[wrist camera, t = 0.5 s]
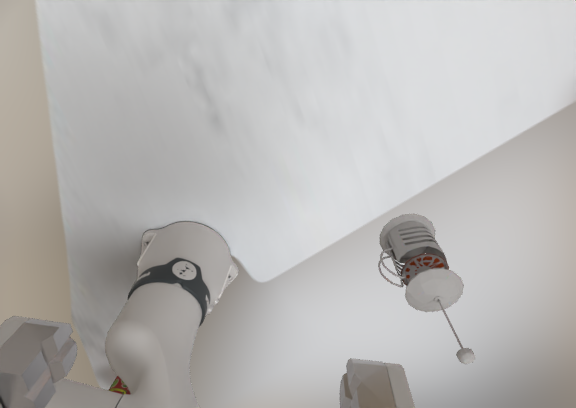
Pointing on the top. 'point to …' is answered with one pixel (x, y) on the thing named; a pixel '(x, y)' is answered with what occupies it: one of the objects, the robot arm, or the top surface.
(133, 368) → the robot arm
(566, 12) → the top surface
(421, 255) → the french press
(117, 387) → the smoothie
